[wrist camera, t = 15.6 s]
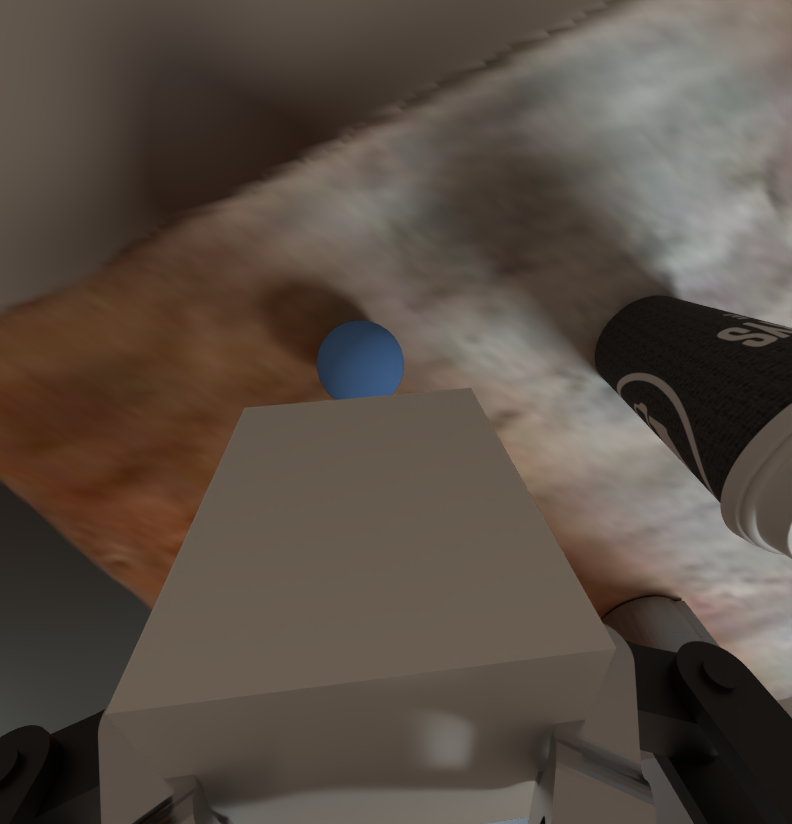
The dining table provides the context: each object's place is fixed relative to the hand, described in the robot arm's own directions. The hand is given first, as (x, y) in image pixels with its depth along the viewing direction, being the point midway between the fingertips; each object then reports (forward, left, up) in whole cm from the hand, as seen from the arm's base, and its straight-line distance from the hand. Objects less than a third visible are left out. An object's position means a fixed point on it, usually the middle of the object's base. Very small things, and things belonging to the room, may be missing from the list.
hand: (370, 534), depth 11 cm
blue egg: (0, +1, -13) cm, 13 cm away
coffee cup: (-19, +2, -16) cm, 25 cm away
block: (0, 0, -2) cm, 2 cm away
